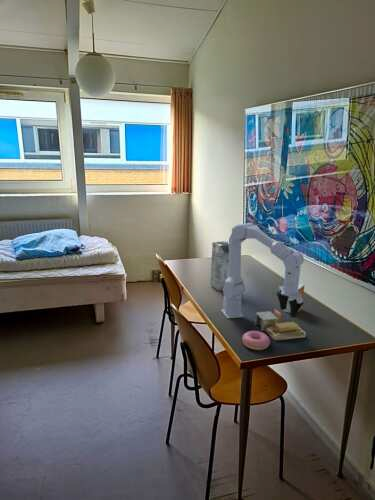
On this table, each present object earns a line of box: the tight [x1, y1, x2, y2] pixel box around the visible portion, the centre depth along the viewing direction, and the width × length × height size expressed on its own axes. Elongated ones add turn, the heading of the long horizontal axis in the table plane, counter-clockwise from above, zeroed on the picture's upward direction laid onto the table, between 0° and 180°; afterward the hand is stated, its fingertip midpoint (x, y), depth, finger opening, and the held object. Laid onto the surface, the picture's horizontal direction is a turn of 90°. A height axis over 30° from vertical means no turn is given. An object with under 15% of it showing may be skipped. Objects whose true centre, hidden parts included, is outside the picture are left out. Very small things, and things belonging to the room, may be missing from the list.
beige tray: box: [266, 326, 307, 341], centre depth 153 cm, size 7×14×2 cm, turn 104°
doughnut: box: [241, 330, 271, 351], centre depth 144 cm, size 11×11×4 cm
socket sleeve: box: [254, 311, 278, 332], centre depth 159 cm, size 8×7×5 cm
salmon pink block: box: [259, 309, 282, 327], centre depth 159 cm, size 5×8×6 cm, turn 104°
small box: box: [283, 283, 305, 314], centre depth 176 cm, size 8×6×13 cm
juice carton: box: [210, 240, 229, 292], centre depth 202 cm, size 9×10×27 cm
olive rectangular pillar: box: [274, 321, 300, 334], centre depth 152 cm, size 9×4×4 cm, turn 107°
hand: (288, 312), depth 151 cm, fingers open, 7 cm apart
